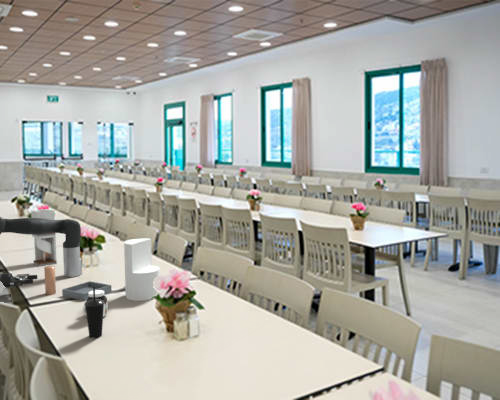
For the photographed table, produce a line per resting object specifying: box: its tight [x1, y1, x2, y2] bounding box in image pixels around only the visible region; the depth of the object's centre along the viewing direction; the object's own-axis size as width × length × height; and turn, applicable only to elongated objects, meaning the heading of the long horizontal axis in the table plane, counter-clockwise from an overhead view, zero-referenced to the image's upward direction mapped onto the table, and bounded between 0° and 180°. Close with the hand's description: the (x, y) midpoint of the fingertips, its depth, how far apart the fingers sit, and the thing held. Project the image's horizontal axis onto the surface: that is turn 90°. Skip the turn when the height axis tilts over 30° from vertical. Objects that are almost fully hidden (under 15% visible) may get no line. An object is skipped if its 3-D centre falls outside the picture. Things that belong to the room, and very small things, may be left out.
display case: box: [30, 208, 58, 267], centre depth 323 cm, size 11×11×35 cm
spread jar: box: [82, 290, 109, 320], centre depth 221 cm, size 12×11×12 cm
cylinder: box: [123, 237, 161, 302], centre depth 252 cm, size 17×17×28 cm
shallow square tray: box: [61, 280, 112, 302], centre depth 257 cm, size 18×16×4 cm
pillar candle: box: [43, 265, 57, 296], centre depth 257 cm, size 5×5×14 cm
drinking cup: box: [83, 287, 105, 339], centre depth 198 cm, size 8×8×20 cm
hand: (35, 279), depth 256 cm, fingers open, 8 cm apart
